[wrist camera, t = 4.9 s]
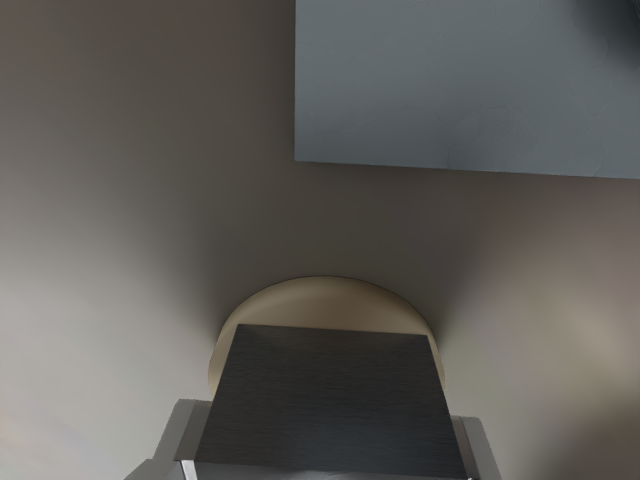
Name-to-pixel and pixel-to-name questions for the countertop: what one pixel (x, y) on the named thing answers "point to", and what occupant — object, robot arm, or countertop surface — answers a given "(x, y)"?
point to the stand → (323, 314)
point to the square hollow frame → (328, 409)
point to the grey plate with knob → (470, 85)
